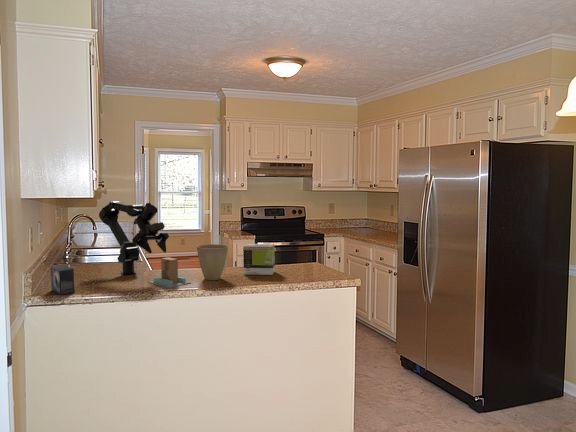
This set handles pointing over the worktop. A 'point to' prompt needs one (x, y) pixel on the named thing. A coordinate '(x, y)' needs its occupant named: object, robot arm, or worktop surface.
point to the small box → (62, 279)
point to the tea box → (259, 259)
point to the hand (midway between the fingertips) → (158, 252)
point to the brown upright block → (169, 269)
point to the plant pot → (212, 260)
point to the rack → (169, 282)
